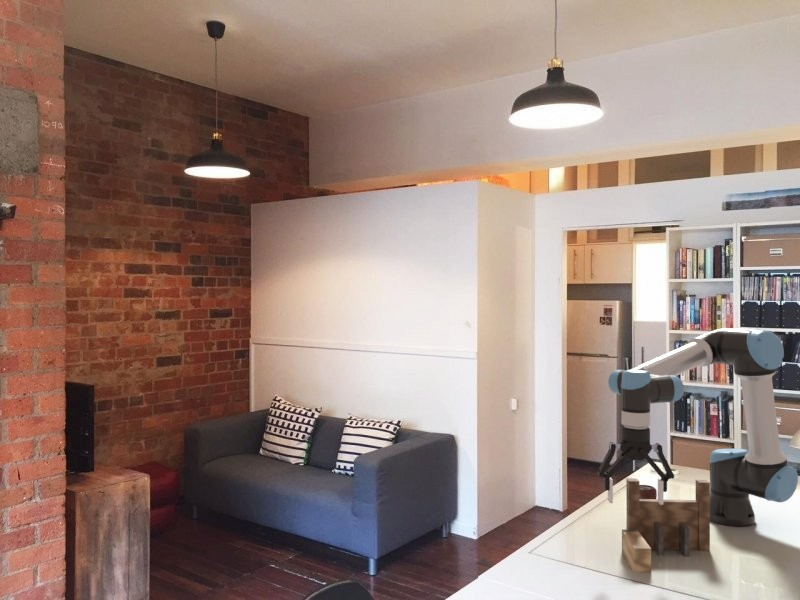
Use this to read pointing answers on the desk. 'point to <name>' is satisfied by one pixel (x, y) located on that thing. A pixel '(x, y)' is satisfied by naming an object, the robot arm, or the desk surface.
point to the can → (647, 492)
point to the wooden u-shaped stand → (671, 519)
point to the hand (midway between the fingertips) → (635, 502)
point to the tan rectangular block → (636, 551)
